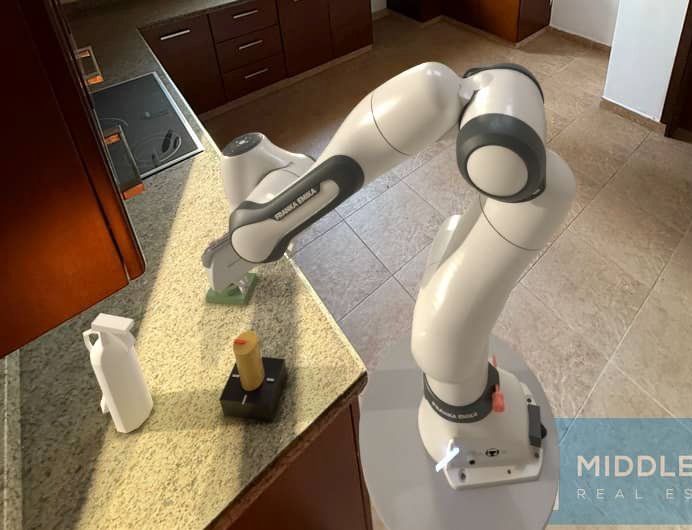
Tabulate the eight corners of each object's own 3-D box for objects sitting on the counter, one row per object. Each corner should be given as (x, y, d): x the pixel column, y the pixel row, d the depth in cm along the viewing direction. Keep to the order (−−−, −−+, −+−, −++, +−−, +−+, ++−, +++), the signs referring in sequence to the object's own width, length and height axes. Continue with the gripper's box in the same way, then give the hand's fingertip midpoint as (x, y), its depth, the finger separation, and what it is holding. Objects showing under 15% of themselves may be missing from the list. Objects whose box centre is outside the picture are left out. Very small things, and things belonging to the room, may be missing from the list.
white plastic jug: (118, 386, 89) (84, 298, 81) (169, 396, 87) (140, 306, 79) (90, 426, 83) (51, 334, 75) (145, 438, 80) (111, 345, 73)
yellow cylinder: (268, 366, 87) (260, 330, 83) (258, 392, 82) (250, 355, 79) (247, 364, 87) (239, 328, 84) (237, 389, 83) (228, 352, 80)
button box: (257, 279, 111) (255, 267, 110) (245, 305, 104) (242, 293, 103) (221, 276, 112) (218, 264, 111) (206, 302, 105) (203, 290, 104)
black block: (288, 373, 90) (285, 356, 88) (271, 424, 82) (268, 406, 80) (243, 368, 91) (239, 351, 89) (222, 418, 83) (218, 400, 81)
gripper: (206, 261, 70) (221, 322, 74) (312, 193, 83) (320, 248, 87) (192, 239, 74) (207, 298, 78) (295, 178, 87) (303, 231, 92)
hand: (267, 271), depth 83 cm, fingers open, 8 cm apart
